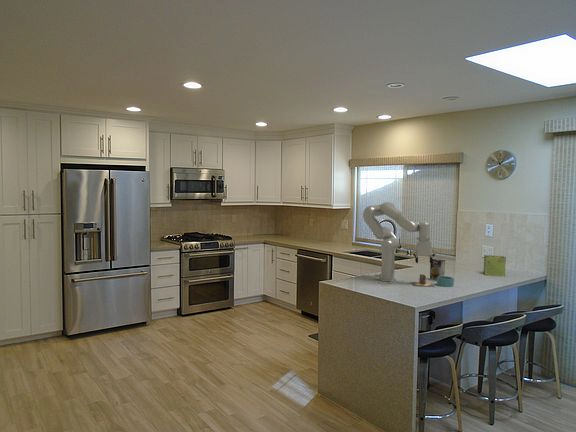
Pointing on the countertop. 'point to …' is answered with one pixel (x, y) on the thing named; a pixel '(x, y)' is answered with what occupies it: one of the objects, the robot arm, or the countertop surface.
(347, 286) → the countertop surface
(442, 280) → the bowl
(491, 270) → the protein box
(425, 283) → the lid
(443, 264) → the coffee box
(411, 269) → the countertop surface
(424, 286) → the mat
